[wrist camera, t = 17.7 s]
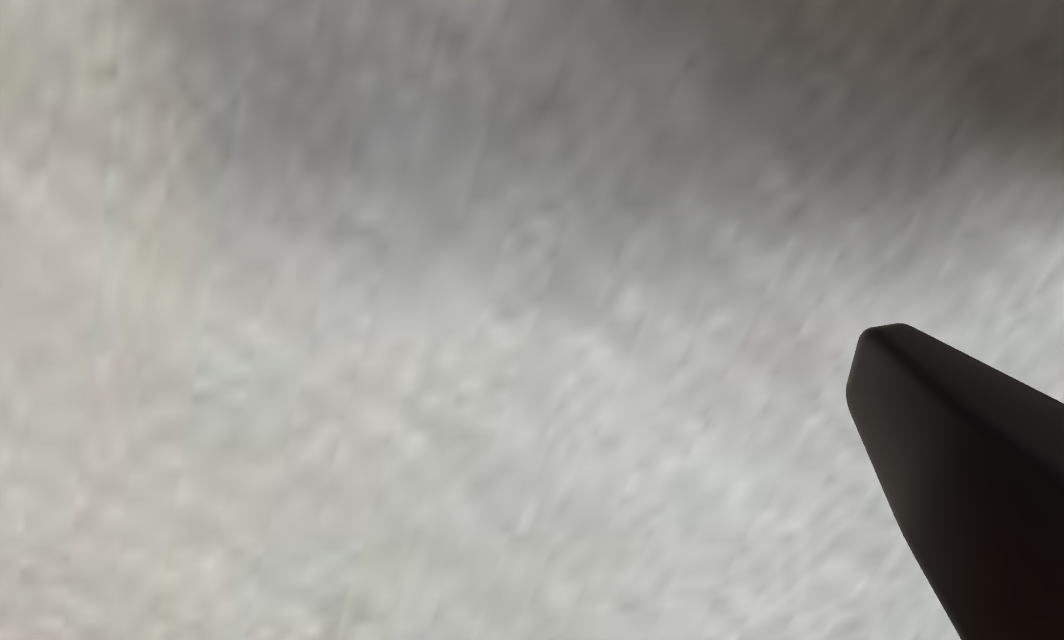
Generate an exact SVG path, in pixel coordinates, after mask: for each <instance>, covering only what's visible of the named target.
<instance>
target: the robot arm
mask: <svg viewBox="0 0 1064 640" xmlns="http://www.w3.org/2000/svg"><path fill="white" fill-rule="evenodd" d="M846 399H847V404H848V408H849V411H850V413H851V416H852V418H853V420H854V423H855V425H856V427H857V430H858V432H859V434H860V437H861V439H862V441H863V444H864V446H865V448H866V451H867V453H868V455H869V458H870V460H871V462H872V465H873V467H874V470H875V472H876V474H877V477H878V479H879V481H880V484H881V486H882V488H883V491H884V493H885V495H886V498H887V500H888V502H889V505H890V507H891V509H892V512H893V514H894V516H895V518H896V521H897V523H898V525H899V527H900V529H901V531H902V534H903V536H904V538H905V539H906V541H907V543H908V545H909V547H910V549H911V551H912V553H913V554H914V556H915V558H916V560H917V562H918V563H919V565H920V567H921V569H922V571H923V572H924V574H925V576H926V578H927V579H928V581H929V583H930V585H931V587H932V588H933V590H934V592H935V594H936V595H937V597H938V599H939V601H940V603H941V604H942V606H943V608H944V610H945V611H946V613H947V615H948V617H949V619H950V620H951V622H952V624H953V626H954V627H955V629H956V631H957V633H958V634H959V636H960V638H961V640H1064V404H1063V403H1061V402H1059V401H1057V400H1055V399H1053V398H1051V397H1049V396H1047V395H1046V394H1044V393H1042V392H1040V391H1038V390H1036V389H1034V388H1032V387H1030V386H1028V385H1026V384H1024V383H1022V382H1020V381H1018V380H1016V379H1014V378H1012V377H1010V376H1008V375H1006V374H1004V373H1002V372H1000V371H998V370H996V369H994V368H992V367H990V366H989V365H987V364H985V363H983V362H981V361H979V360H977V359H975V358H973V357H971V356H969V355H967V354H965V353H963V352H961V351H959V350H957V349H955V348H953V347H951V346H949V345H947V344H945V343H943V342H941V341H939V340H937V339H935V338H933V337H931V336H930V335H928V334H926V333H924V332H922V331H920V330H918V329H916V328H914V327H912V326H909V325H907V324H903V323H896V324H890V325H883V326H877V327H871V328H868V329H866V330H865V331H864V332H863V333H862V334H861V335H860V337H859V340H858V343H857V347H856V351H855V355H854V359H853V362H852V366H851V370H850V374H849V378H848V382H847V386H846Z"/></svg>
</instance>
